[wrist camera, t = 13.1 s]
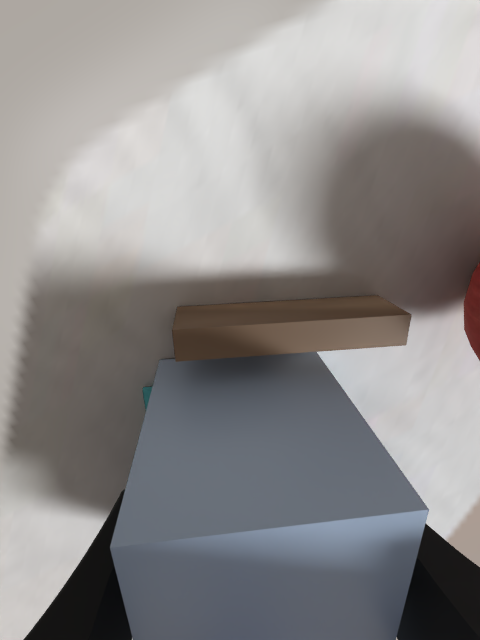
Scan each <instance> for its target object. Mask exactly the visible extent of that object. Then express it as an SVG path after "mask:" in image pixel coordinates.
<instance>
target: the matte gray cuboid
mask: <svg viewBox="0 0 480 640" xmlns="http://www.w3.org/2000/svg"><path fill="white" fill-rule="evenodd" d="M428 511H429V509H428V508H427V506H426V505H425V503H424V502H423V501H422V499H421V498H420V496H419V495H418V494H417V492H416V491H415V489H414V488H413V487H412V485H411V484H410V482H409V481H408V480H407V478H406V477H405V475H404V474H403V473H402V471H401V470H400V468H399V467H398V466H397V464H396V463H395V461H394V460H393V459H392V457H391V456H390V454H389V453H388V452H387V450H386V449H385V447H384V446H383V445H382V443H381V442H380V440H379V439H378V438H377V436H376V435H375V433H374V432H373V431H372V429H371V428H370V426H369V425H368V424H367V422H366V421H365V419H364V418H363V417H362V415H361V414H360V412H359V411H358V410H357V408H356V407H355V405H354V404H353V403H352V401H351V400H350V398H349V397H348V396H347V394H346V393H345V391H344V390H343V389H342V387H341V386H340V384H339V383H338V382H337V380H336V379H335V377H334V376H333V375H332V373H331V372H330V370H329V369H328V368H327V366H326V365H325V363H324V362H323V361H322V359H321V358H320V356H319V355H318V354H317V352H304V353H291V354H277V355H263V356H249V357H235V358H221V359H207V360H194V361H180V362H175V359H164V360H159V364H158V368H157V372H156V375H155V379H154V383H153V387H152V391H151V394H150V398H149V402H148V406H147V409H146V413H145V417H144V421H143V425H142V428H141V432H140V436H139V440H138V443H137V447H136V451H135V455H134V459H133V462H132V466H131V470H130V474H129V477H128V481H127V485H126V489H125V493H124V496H123V500H122V504H121V508H120V511H119V515H118V519H117V523H116V527H115V530H114V534H113V538H112V542H111V545H110V550H111V554H112V558H113V562H114V566H115V570H116V574H117V578H118V582H119V586H120V590H121V594H122V598H123V602H124V606H125V610H126V614H127V618H128V622H129V626H130V630H131V634H132V637H133V640H396V637H397V633H398V629H399V625H400V621H401V617H402V613H403V609H404V605H405V601H406V597H407V594H408V590H409V586H410V582H411V578H412V574H413V570H414V566H415V562H416V558H417V554H418V550H419V547H420V543H421V539H422V535H423V531H424V527H425V523H426V519H427V515H428Z"/></svg>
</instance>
